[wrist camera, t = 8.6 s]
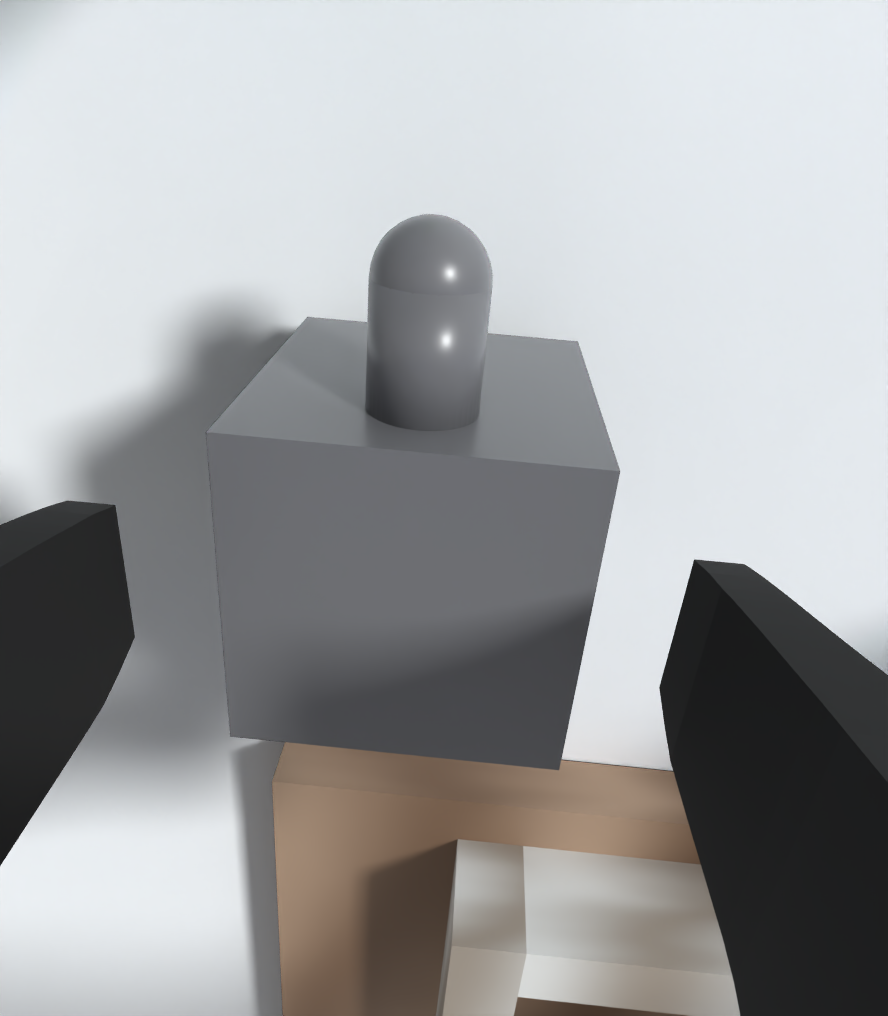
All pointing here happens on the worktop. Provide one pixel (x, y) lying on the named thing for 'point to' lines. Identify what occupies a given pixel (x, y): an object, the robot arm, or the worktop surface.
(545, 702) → the plug
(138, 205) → the worktop surface
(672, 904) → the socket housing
